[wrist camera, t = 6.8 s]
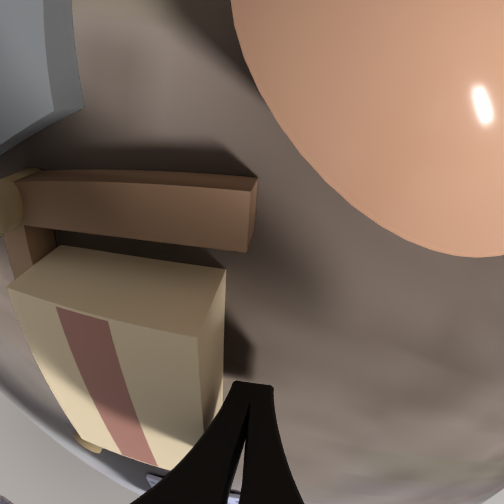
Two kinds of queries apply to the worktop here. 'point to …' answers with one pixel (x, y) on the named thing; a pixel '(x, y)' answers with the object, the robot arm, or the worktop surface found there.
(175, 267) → the carton
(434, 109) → the tan oval shape
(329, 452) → the worktop surface
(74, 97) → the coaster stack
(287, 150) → the worktop surface
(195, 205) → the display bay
